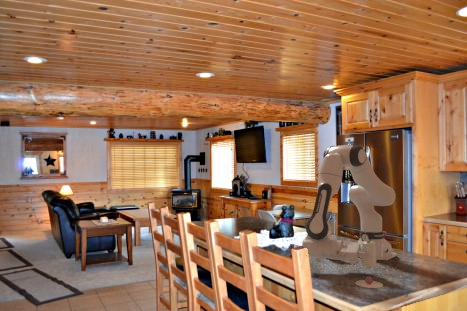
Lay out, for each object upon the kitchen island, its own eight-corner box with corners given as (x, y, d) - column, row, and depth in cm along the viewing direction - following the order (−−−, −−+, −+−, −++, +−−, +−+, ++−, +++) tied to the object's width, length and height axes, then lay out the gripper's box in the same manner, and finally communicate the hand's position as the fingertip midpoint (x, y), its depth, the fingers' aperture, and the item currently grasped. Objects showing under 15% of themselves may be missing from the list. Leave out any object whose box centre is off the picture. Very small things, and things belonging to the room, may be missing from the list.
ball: (367, 282, 172) (367, 275, 172) (374, 284, 170) (374, 276, 170) (363, 283, 170) (363, 276, 170) (370, 285, 168) (370, 278, 168)
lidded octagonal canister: (366, 262, 186) (366, 237, 186) (378, 265, 182) (378, 239, 182) (358, 264, 183) (358, 239, 182) (370, 267, 178) (370, 241, 178)
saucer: (365, 280, 178) (365, 278, 178) (388, 286, 169) (388, 284, 169) (349, 285, 171) (349, 283, 171) (373, 291, 162) (373, 289, 162)
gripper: (334, 248, 177) (368, 250, 172) (340, 238, 196) (370, 240, 191) (334, 262, 177) (368, 265, 172) (340, 251, 196) (370, 254, 191)
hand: (369, 252), depth 182 cm, fingers closed on lidded octagonal canister, 6 cm apart
